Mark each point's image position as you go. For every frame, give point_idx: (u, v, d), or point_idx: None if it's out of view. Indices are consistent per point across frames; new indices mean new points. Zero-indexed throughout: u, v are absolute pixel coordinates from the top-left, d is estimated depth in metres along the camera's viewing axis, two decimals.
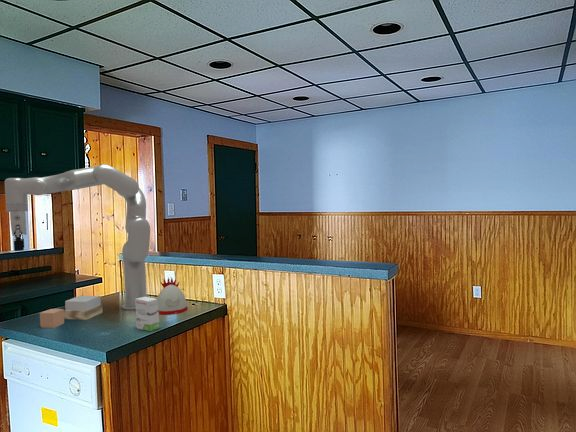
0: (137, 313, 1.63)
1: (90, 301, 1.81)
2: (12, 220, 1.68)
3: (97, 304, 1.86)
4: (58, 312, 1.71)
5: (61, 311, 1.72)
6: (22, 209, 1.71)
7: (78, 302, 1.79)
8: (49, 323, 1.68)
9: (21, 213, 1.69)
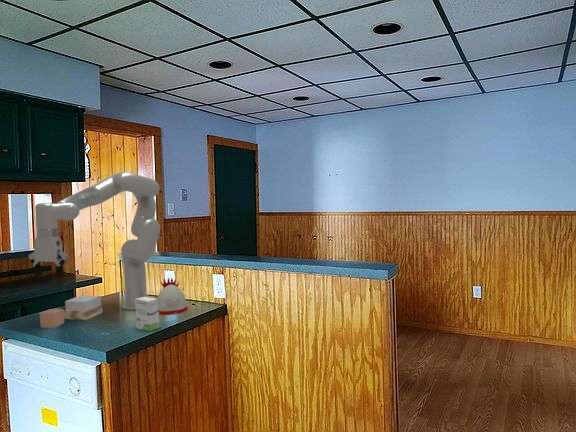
0: (137, 313, 1.63)
1: (90, 301, 1.81)
2: (54, 245, 1.67)
3: (97, 304, 1.86)
4: (58, 312, 1.71)
5: (61, 311, 1.72)
6: (57, 234, 1.71)
7: (78, 302, 1.79)
8: (49, 323, 1.68)
9: (59, 238, 1.70)
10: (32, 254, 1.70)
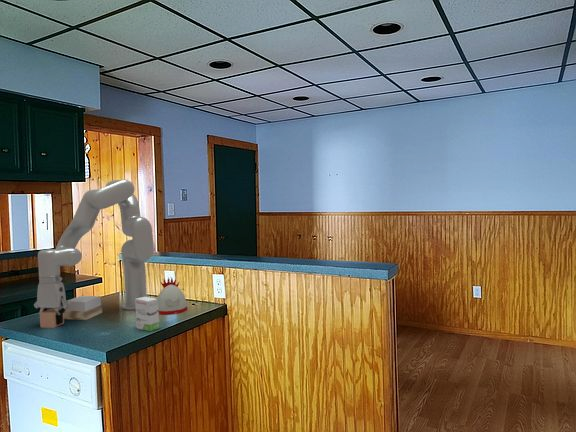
0: (137, 313, 1.63)
1: (89, 301, 1.81)
2: (57, 292, 1.68)
3: (97, 304, 1.85)
4: None
5: None
6: (60, 280, 1.72)
7: (77, 302, 1.79)
8: (48, 323, 1.68)
9: (62, 284, 1.71)
10: None
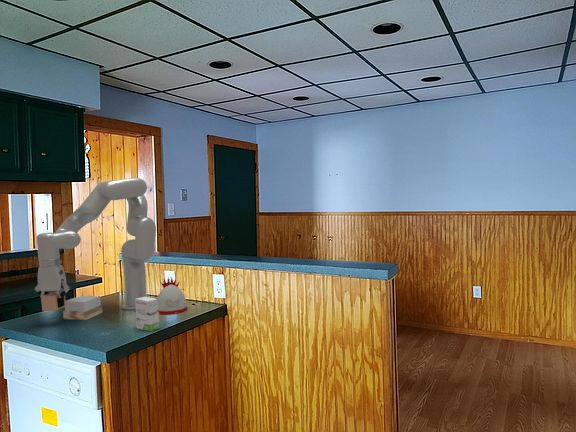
0: (137, 313, 1.63)
1: (88, 301, 1.80)
2: (58, 275, 1.68)
3: (96, 304, 1.85)
4: None
5: None
6: None
7: (77, 302, 1.79)
8: (50, 306, 1.68)
9: (62, 267, 1.71)
10: (37, 286, 1.71)
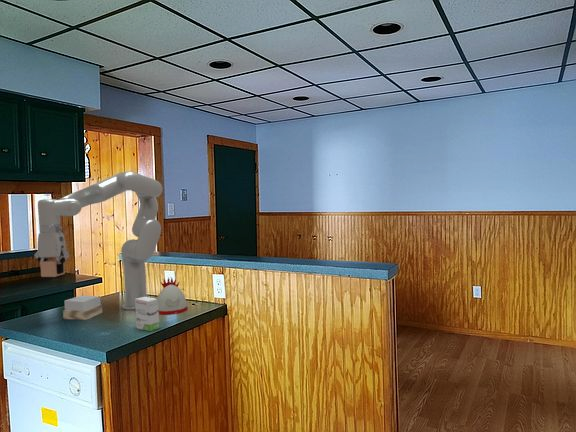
0: (137, 313, 1.63)
1: (88, 301, 1.81)
2: (58, 241, 1.68)
3: (96, 304, 1.85)
4: None
5: None
6: (60, 230, 1.72)
7: (76, 302, 1.79)
8: (49, 272, 1.68)
9: (62, 234, 1.71)
10: (37, 252, 1.71)
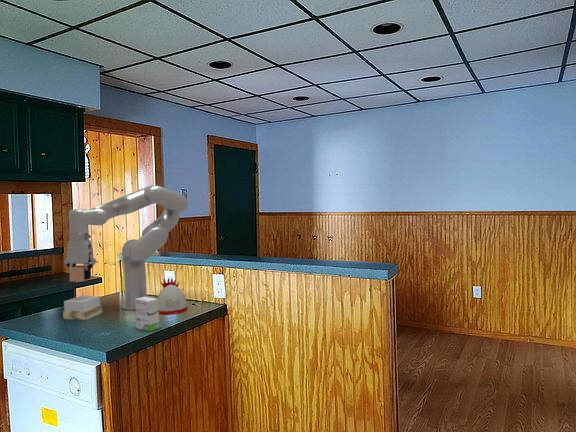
0: (137, 313, 1.63)
1: (88, 302, 1.81)
2: (86, 249, 1.80)
3: (96, 305, 1.85)
4: None
5: None
6: (88, 238, 1.84)
7: (76, 302, 1.79)
8: (77, 277, 1.80)
9: (90, 242, 1.83)
10: (66, 259, 1.83)
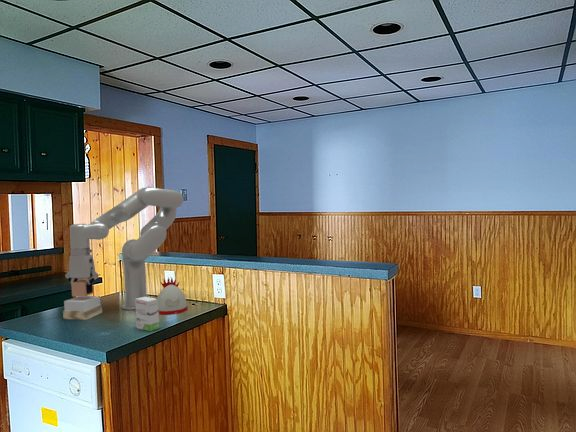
0: (137, 313, 1.63)
1: (88, 302, 1.81)
2: (88, 263, 1.81)
3: (96, 305, 1.85)
4: None
5: None
6: (89, 252, 1.84)
7: (76, 302, 1.79)
8: (79, 292, 1.81)
9: None
10: (68, 273, 1.84)
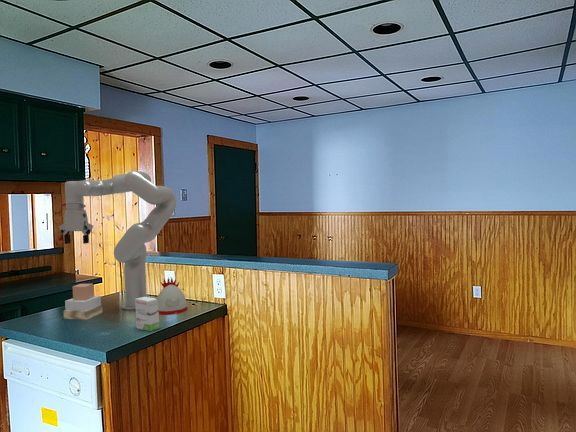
0: (137, 313, 1.63)
1: (89, 301, 1.81)
2: (81, 217, 1.96)
3: (97, 304, 1.86)
4: (89, 286, 1.84)
5: (91, 285, 1.85)
6: (83, 208, 1.99)
7: (78, 302, 1.79)
8: (81, 296, 1.81)
9: (85, 211, 1.99)
10: (62, 225, 1.99)
